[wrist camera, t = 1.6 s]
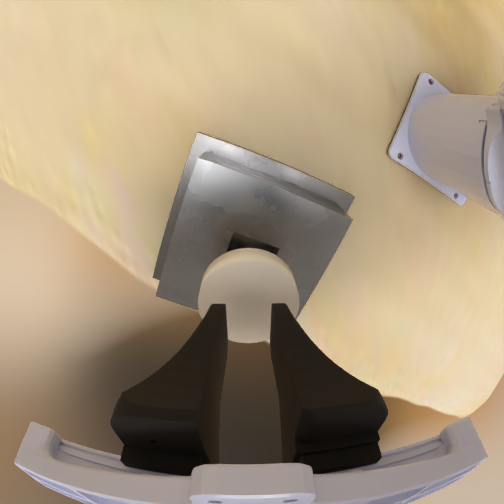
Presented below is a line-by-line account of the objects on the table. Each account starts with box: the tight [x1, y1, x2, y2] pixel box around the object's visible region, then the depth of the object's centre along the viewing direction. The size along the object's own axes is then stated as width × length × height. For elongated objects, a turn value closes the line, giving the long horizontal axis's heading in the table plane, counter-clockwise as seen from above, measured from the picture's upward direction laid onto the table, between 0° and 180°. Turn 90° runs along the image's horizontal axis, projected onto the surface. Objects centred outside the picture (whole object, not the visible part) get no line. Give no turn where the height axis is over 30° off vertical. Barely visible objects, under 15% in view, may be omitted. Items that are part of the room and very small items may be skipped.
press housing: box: [153, 132, 354, 319], centre depth 20 cm, size 12×12×4 cm
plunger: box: [198, 248, 299, 343], centre depth 16 cm, size 5×5×5 cm
